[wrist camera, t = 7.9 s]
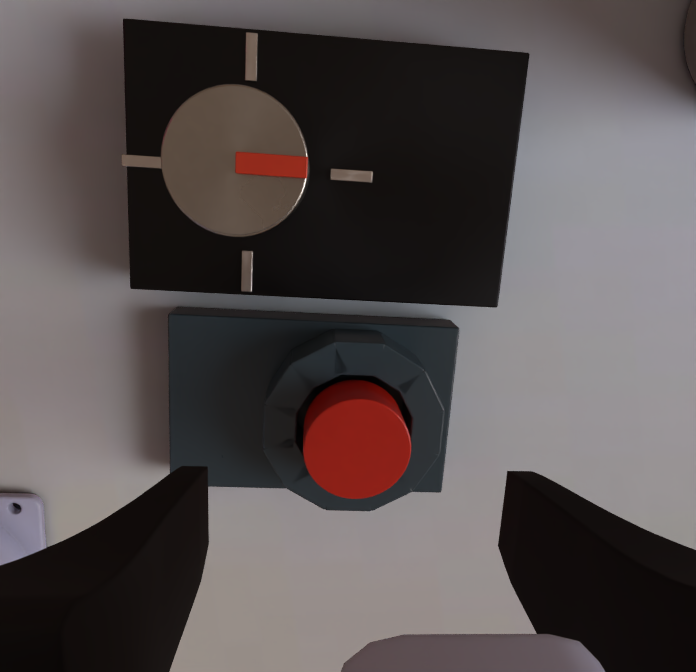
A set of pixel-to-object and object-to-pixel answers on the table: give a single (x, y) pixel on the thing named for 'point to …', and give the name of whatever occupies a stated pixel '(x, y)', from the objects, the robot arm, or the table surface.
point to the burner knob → (235, 160)
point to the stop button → (355, 440)
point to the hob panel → (336, 165)
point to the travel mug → (691, 39)
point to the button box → (301, 392)
